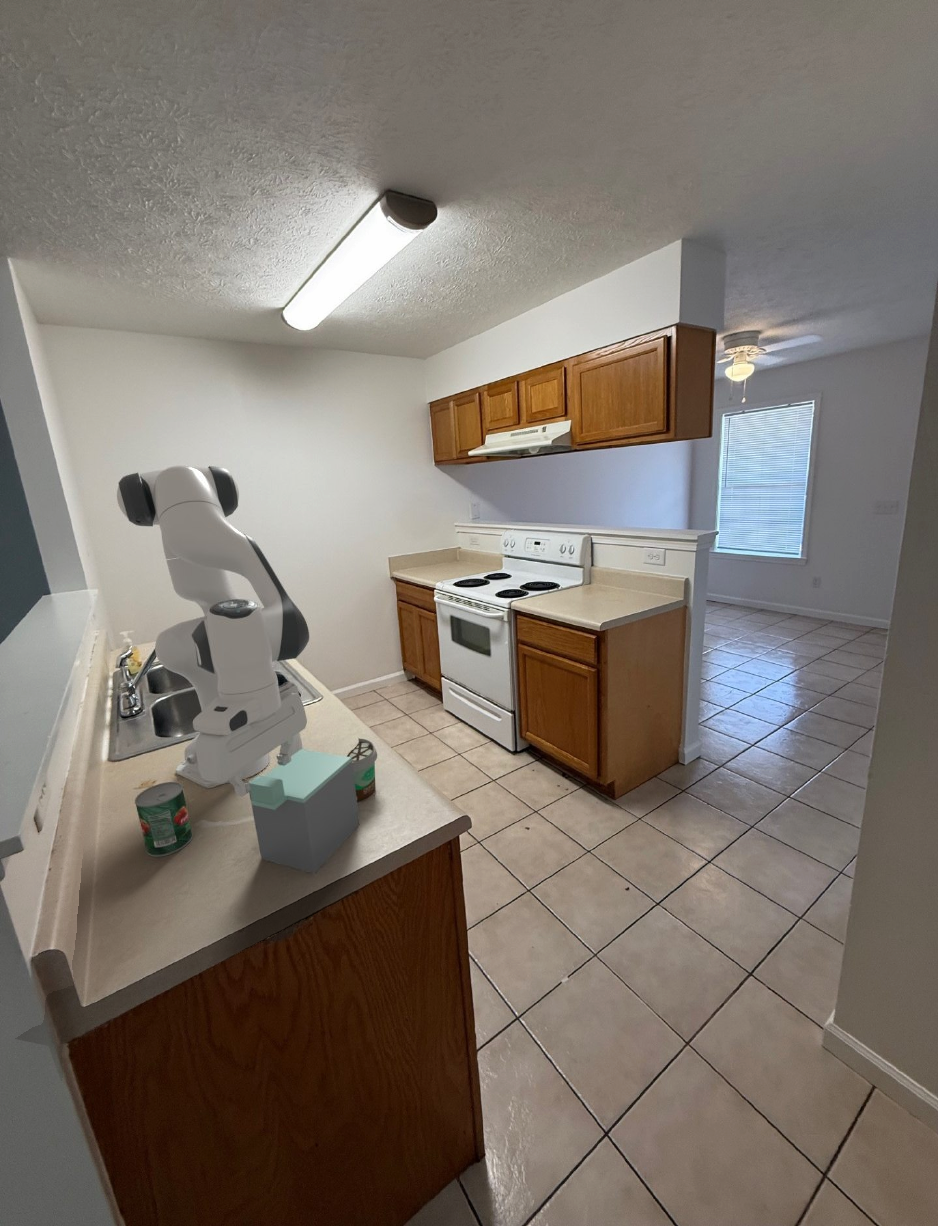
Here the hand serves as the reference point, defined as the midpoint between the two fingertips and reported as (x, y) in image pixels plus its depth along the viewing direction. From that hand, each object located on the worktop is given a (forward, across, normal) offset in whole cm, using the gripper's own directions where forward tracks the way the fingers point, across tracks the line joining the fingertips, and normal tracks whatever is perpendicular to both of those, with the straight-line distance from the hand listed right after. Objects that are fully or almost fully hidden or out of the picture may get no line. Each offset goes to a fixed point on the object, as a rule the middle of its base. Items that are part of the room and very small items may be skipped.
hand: (265, 777), depth 84 cm
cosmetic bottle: (+19, -21, -14) cm, 31 cm away
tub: (+19, -9, 0) cm, 21 cm away
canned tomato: (+19, 0, -28) cm, 33 cm away
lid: (+5, -7, 0) cm, 9 cm away
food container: (+19, -26, 0) cm, 32 cm away
